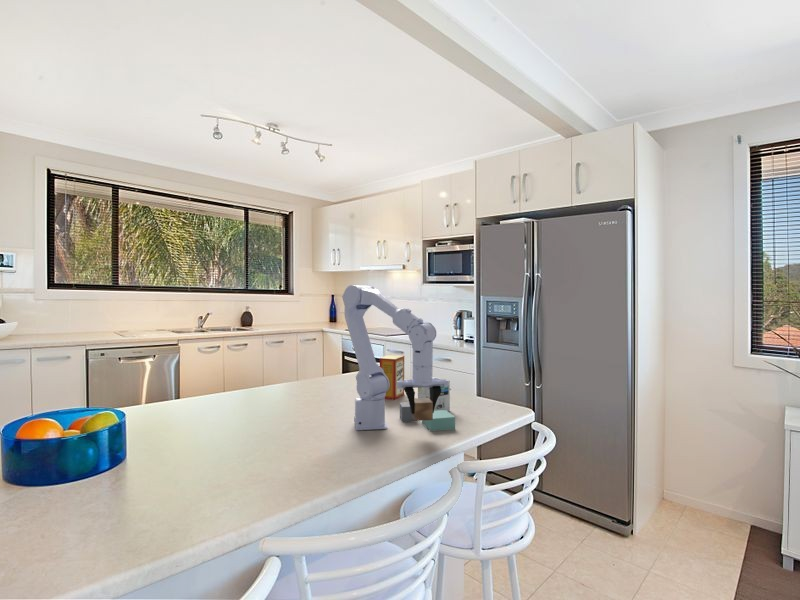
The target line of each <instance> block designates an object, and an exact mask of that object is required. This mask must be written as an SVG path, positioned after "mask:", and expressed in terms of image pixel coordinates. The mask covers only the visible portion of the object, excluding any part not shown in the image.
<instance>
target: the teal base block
mask: <svg viewBox="0 0 800 600" xmlns="http://www.w3.org/2000/svg"><path fill="white" fill-rule="evenodd" d="M422 423H423V424H424V425H425V426H426V427H427V428H428V429H429V430H430V431H429V430H428V429H427V428H426V427H425V426H424V427H425V428H426V429H427V430H428V431H429V432H437V431H436V430H439V431H447V429H451V430H456V416H455V415H453V414H452V413H450V412H449V411H447V410H437V411H434V413H433V420H422V421H421V424H422ZM423 424H422V425H423Z"/></svg>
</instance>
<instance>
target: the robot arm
mask: <svg viewBox="0 0 800 600" xmlns="http://www.w3.org/2000/svg"><path fill="white" fill-rule="evenodd" d="M341 297H342V301H343V305H344V319H345V322H346V325H347V326H346V327H347V329H348V333H349V337H350V340H351V343H352V347H353V350H354V354H355V357H356V361H357V365H358V369H359V370H358V371H357V373H356V376H355V381H356V392H357V394H358V395H359V397H356V398H354V417H353V422H354V426H355V431H365V430H366V431H367V430H387V429H388V425H387V422H386V421H385V420H386V416H385V415H386V404H385V403H386V402H385V401H386V399H385V396H386V392H387V391H388V389H389V386H390V383H389V379H388V378H387V376H386V375H385V374H384V371H383V369H382V368H381V367H380V365H378V364H377V360H376V357H375V355H374V354H375V353H374V351H373V347H372V344H371V340H370V337H369V334H368V329H367V327H366V324H365V323H366V322H365V320H364V316H365V314H366V313H367V312H368V310H369V309H370V308H371V307H372V306H374V307H375V308H376V309H378V310H380V311H381V312H383V313H384V314H386V315H387V316H389V317H390V318H392V323H393V325H394V326H396V327H397V328H399V329H400V331H402V332H404V333H405V334H407V336H408V339H409V341H410V342H411V348H412V378H411V379H404V380H401V381H397V388H398V389H402V388H404V394H405V395H406V398H407V400H408V403H409V404H410V409H411V413H412V414H414V410H415V409H414V398H415V395H416V392H415V389H418V388H423V387H429V389H430V400H431V401H432V402H433V413H434V408H435V405H436V402H437V399H438V397H439V395H440V393H441V388H440V387H448V381H447V380H448V379H445V378H444V379H443V378H441V379H432V376H433V358H434V357H433V355H434V354H433V351H434V349H433V346H434V345H433V343H434V341H435V339H436V338H437V330H436V327H435V326H434V325H433V324H432V323H431V322H424V320H423V318H419V317H418V316H416V315H415V314H414V313H412V310H411V309H410V308H403V307H402V308H399V307H398V306H396V305H395V303H393V302H392V301H391V300H390V299H389V298H387V297H385V295H384V294H383V293H381V292H380V289H377V288H375V287H374V286H373V285H368V284H367V285H355V284H350V285H348V286H347V287H346V288H345V290H344V291H343V293H342V296H341Z"/></svg>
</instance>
